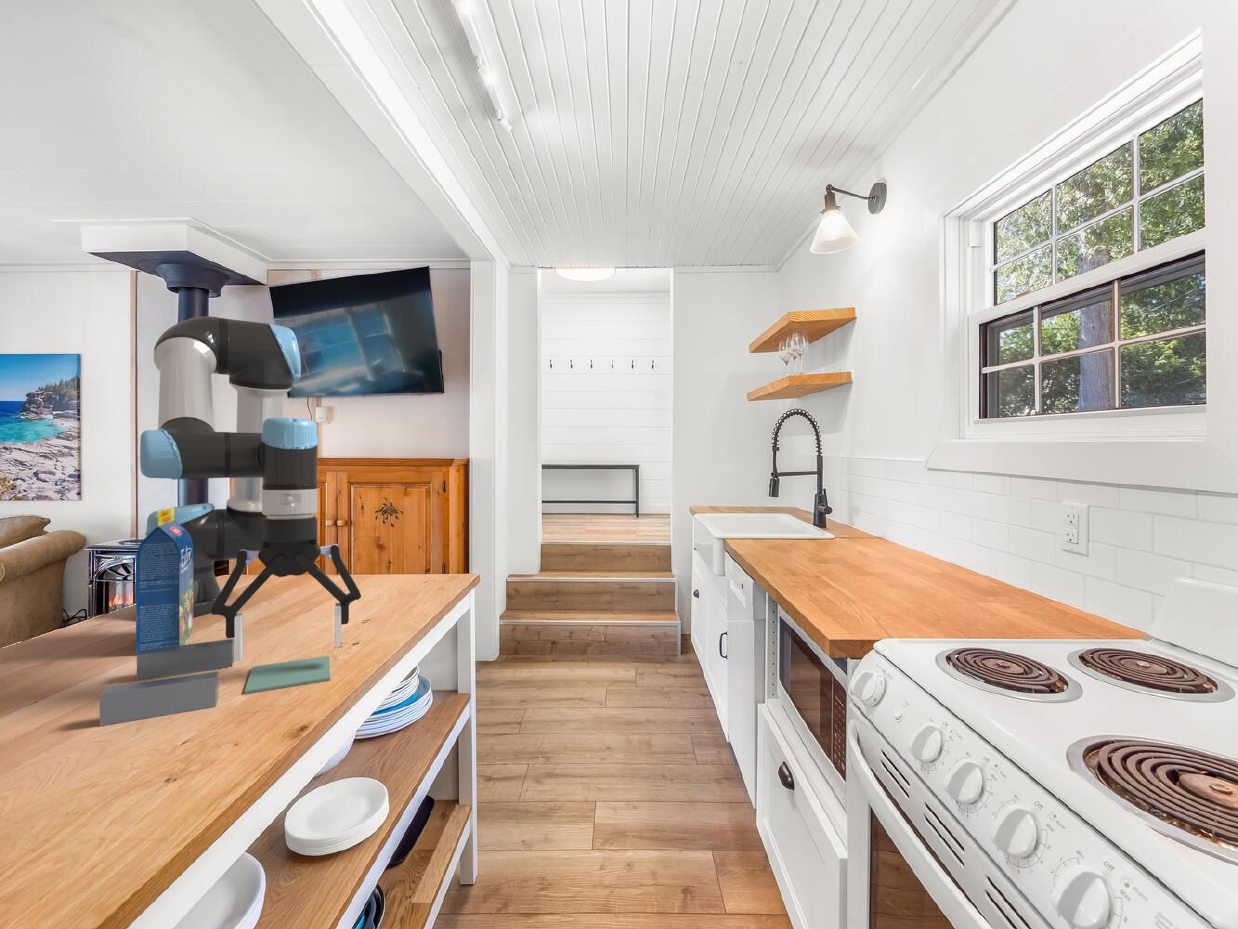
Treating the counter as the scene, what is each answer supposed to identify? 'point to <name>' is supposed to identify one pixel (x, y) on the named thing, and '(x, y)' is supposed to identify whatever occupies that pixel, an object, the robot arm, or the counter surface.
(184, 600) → the blue food package
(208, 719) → the counter surface
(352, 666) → the counter surface
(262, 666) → the mat
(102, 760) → the counter surface
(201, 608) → the robot arm
